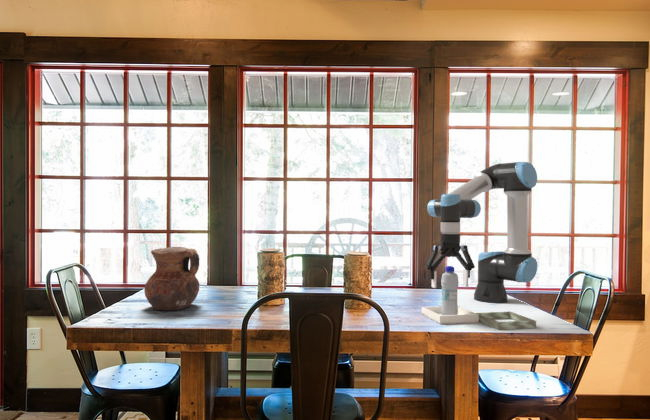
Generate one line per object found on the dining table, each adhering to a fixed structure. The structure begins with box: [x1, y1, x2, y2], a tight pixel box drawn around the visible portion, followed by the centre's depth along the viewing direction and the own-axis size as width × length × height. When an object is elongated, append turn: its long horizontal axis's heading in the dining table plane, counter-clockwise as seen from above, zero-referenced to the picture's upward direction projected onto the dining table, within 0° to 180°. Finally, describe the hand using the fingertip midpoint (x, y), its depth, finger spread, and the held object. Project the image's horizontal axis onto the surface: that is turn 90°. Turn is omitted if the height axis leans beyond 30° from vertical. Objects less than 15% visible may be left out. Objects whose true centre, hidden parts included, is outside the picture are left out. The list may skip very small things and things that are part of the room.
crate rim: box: [475, 310, 537, 331], centre depth 172 cm, size 16×16×2 cm
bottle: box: [440, 265, 460, 315], centre depth 179 cm, size 7×7×20 cm
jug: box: [143, 246, 200, 311], centre depth 193 cm, size 22×21×25 cm
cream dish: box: [421, 305, 480, 325], centre depth 179 cm, size 16×16×3 cm
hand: (449, 287), depth 179 cm, fingers open, 13 cm apart
